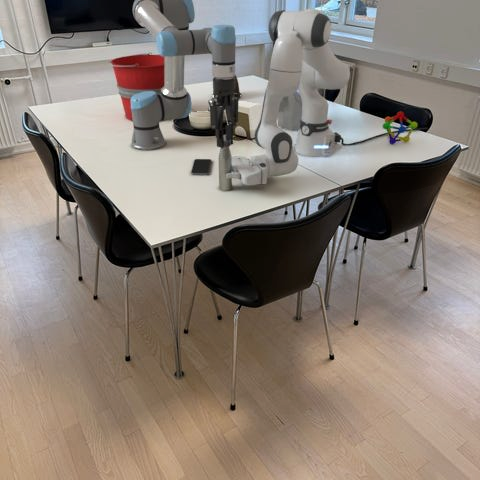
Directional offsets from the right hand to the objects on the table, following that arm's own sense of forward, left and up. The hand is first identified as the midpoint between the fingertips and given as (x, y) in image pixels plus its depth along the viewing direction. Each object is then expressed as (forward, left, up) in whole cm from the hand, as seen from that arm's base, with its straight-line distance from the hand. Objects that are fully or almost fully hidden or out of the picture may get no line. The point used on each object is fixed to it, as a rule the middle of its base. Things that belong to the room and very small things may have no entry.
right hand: (223, 172), depth 164 cm
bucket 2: (-81, -28, -7) cm, 86 cm away
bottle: (-1, 0, -7) cm, 7 cm away
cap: (-1, 0, +12) cm, 12 cm away
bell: (-96, -95, -7) cm, 135 cm away
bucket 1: (-38, -98, -7) cm, 105 cm away
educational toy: (-93, +23, -7) cm, 96 cm away
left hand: (-1, 0, +10) cm, 11 cm away
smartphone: (-8, -21, -7) cm, 23 cm away
